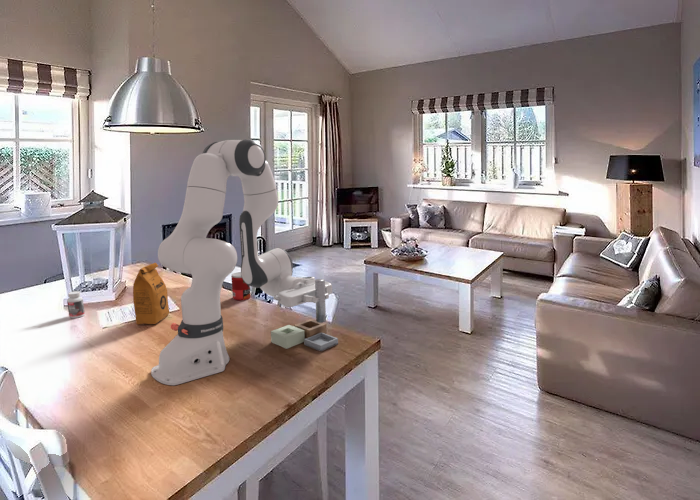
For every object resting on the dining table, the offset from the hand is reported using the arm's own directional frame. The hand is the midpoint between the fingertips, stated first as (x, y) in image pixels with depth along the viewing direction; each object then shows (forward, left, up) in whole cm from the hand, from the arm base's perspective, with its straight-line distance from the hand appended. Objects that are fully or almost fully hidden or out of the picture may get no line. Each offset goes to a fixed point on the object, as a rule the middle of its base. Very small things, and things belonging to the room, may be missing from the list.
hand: (322, 298), depth 148 cm
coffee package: (-27, +66, -16) cm, 73 cm away
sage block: (-6, +11, -16) cm, 20 cm away
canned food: (+12, +64, -16) cm, 67 cm away
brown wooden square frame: (+3, +9, -16) cm, 19 cm away
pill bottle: (-45, +94, -16) cm, 105 cm away
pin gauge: (0, +1, -8) cm, 8 cm away
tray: (0, +1, -16) cm, 16 cm away
